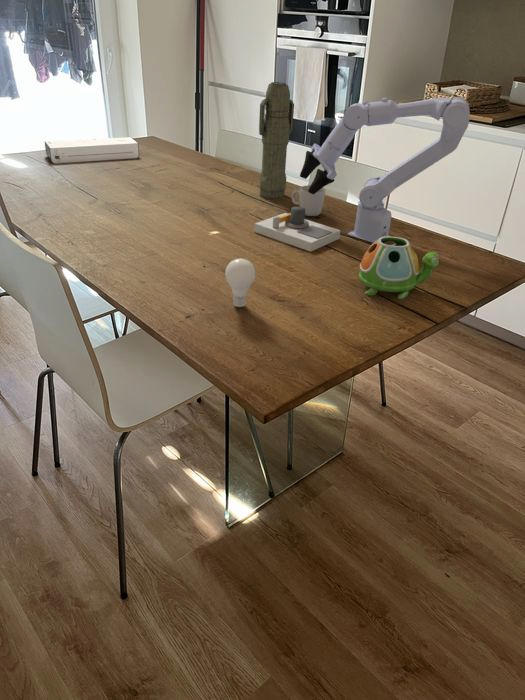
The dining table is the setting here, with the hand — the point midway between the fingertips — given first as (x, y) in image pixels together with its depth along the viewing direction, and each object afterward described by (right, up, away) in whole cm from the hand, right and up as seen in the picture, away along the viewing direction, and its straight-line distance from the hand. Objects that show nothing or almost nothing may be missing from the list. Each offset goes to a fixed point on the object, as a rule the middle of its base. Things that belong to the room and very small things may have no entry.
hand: (306, 184), depth 161 cm
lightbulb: (-18, -38, -39) cm, 57 cm away
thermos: (-9, +5, +31) cm, 33 cm away
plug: (-3, -14, +1) cm, 14 cm away
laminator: (-80, +29, +63) cm, 106 cm away
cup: (+1, -4, +17) cm, 18 cm away
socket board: (-3, -14, 0) cm, 15 cm away
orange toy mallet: (-5, -11, +1) cm, 12 cm away
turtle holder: (+18, -33, -27) cm, 46 cm away
